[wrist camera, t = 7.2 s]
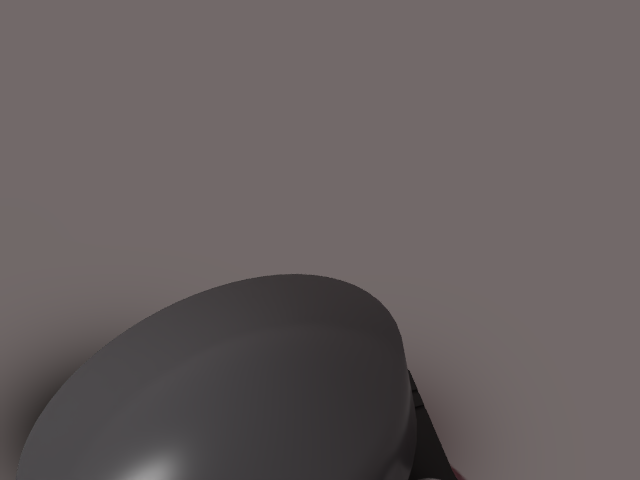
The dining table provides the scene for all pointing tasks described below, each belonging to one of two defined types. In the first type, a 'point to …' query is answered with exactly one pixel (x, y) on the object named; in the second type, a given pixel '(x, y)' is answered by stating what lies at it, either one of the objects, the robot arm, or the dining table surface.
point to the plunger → (238, 392)
